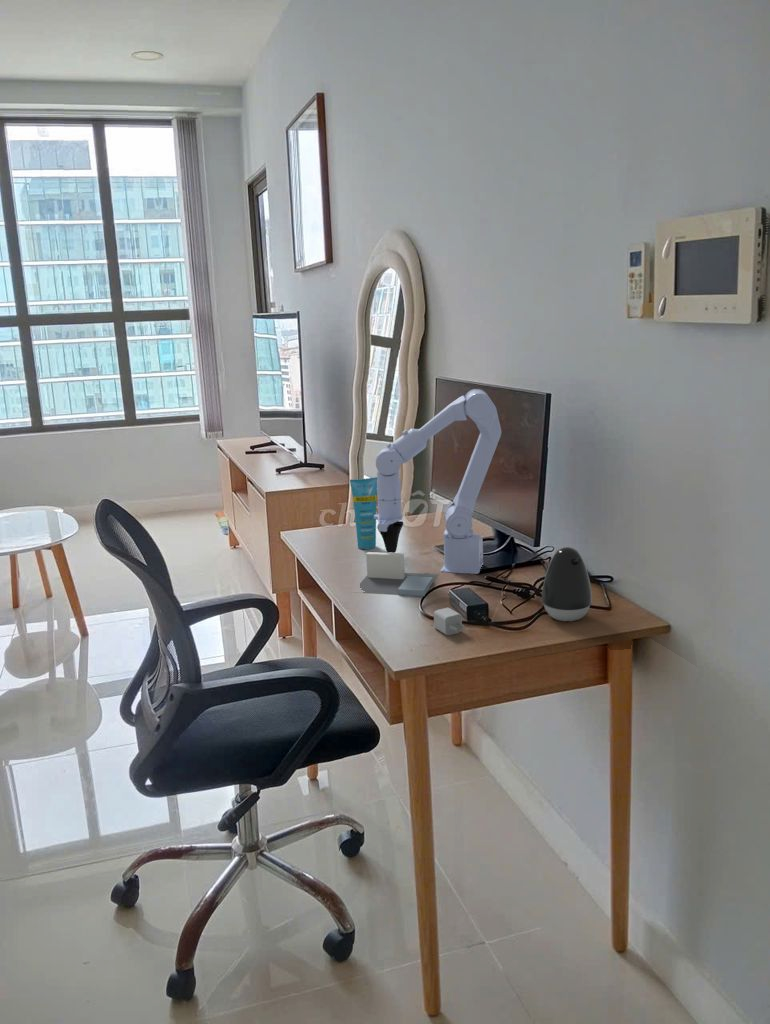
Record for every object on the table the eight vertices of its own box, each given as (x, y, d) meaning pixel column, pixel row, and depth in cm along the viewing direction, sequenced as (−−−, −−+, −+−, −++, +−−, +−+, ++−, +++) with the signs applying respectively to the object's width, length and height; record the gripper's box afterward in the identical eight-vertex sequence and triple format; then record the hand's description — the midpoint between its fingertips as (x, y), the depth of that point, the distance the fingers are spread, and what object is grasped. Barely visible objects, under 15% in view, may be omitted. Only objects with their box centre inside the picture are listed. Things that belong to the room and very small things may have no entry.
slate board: (407, 581, 201) (407, 575, 201) (432, 582, 200) (432, 577, 199) (398, 594, 193) (398, 588, 192) (423, 596, 191) (423, 590, 191)
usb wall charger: (450, 624, 176) (450, 606, 175) (469, 636, 170) (468, 617, 169) (434, 629, 174) (433, 610, 173) (452, 640, 168) (451, 621, 167)
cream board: (404, 577, 204) (403, 553, 203) (403, 579, 203) (402, 555, 201) (368, 575, 207) (367, 551, 205) (367, 577, 205) (366, 553, 204)
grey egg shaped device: (556, 629, 171) (557, 558, 167) (533, 612, 181) (533, 543, 177) (601, 622, 174) (603, 551, 170) (576, 605, 183) (577, 537, 179)
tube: (355, 551, 227) (351, 481, 222) (352, 546, 232) (348, 477, 227) (382, 548, 229) (379, 478, 224) (378, 543, 233) (375, 474, 228)
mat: (438, 575, 205) (438, 574, 205) (424, 597, 191) (423, 596, 191) (370, 572, 210) (370, 570, 210) (352, 593, 196) (352, 592, 196)
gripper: (381, 490, 213) (383, 542, 217) (364, 505, 200) (367, 559, 203) (408, 491, 211) (410, 543, 215) (393, 506, 198) (395, 561, 201)
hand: (391, 551), depth 209 cm, fingers closed
